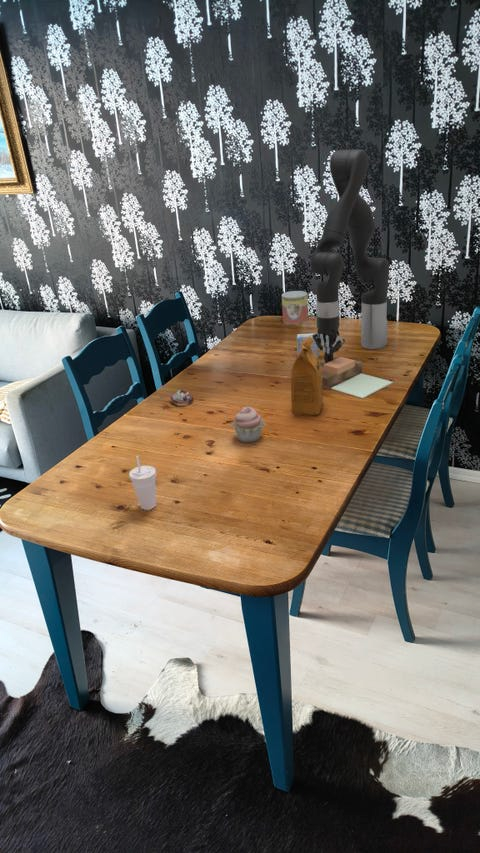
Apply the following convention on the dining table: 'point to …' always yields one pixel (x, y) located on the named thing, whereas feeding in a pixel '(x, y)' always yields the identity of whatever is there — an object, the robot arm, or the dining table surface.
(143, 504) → the smoothie
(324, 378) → the deck
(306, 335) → the medicine box
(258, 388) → the dining table surface
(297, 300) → the canned food
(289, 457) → the dining table surface
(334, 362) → the pink rectangular block
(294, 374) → the coffee package
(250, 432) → the cupcake
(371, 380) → the mat
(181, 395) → the pastry
